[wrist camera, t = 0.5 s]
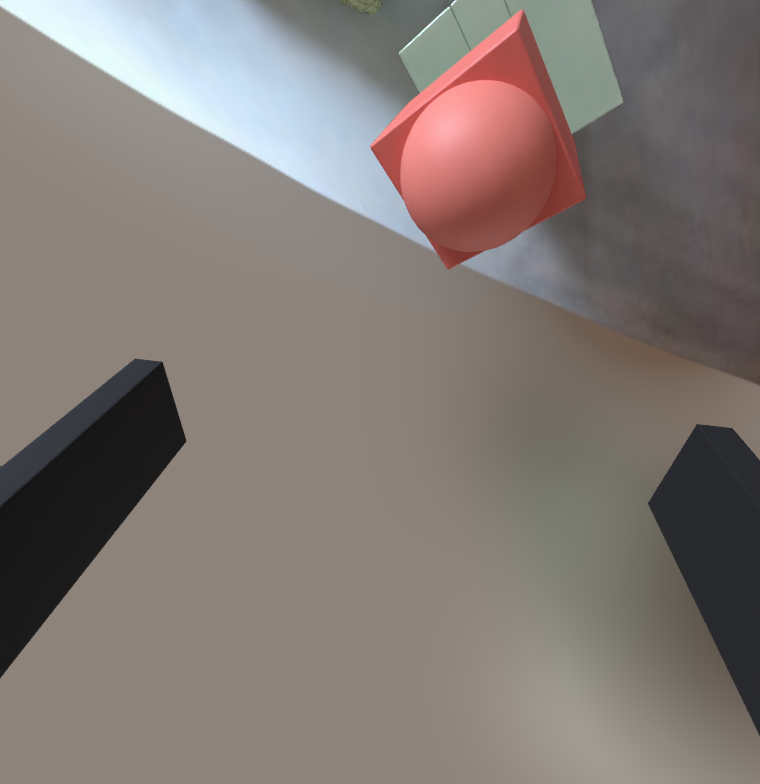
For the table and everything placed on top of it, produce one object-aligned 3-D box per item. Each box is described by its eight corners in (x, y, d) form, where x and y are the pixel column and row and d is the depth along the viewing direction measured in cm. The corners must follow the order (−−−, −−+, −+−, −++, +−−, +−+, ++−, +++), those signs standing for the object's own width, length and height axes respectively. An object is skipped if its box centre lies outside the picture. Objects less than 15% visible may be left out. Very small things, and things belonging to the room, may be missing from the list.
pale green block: (545, -71, 23) (561, -99, 14) (588, 59, 27) (624, 102, 18) (437, 27, 27) (397, 53, 18) (487, 130, 30) (474, 194, 22)
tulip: (530, -18, 24) (514, 37, 7) (557, 54, 26) (594, 233, 9) (454, 47, 27) (315, 196, 10) (483, 108, 29) (407, 319, 12)
